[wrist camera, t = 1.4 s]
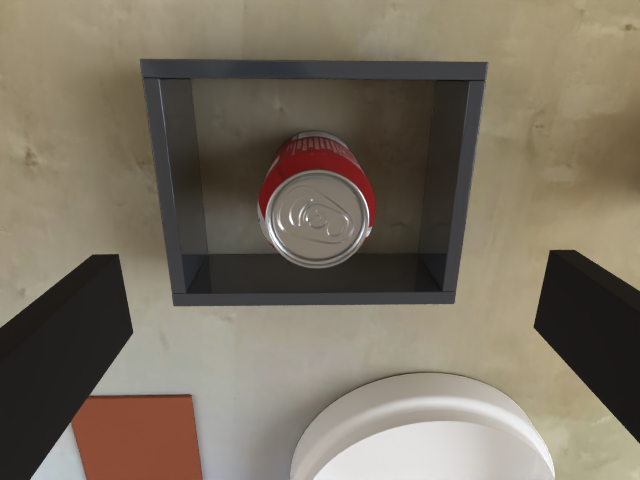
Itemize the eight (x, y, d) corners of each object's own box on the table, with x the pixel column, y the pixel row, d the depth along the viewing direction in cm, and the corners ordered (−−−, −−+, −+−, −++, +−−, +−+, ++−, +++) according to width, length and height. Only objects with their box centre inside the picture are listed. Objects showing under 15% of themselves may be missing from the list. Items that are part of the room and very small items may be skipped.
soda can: (293, 114, 31) (285, 134, 20) (371, 152, 33) (404, 192, 21) (258, 192, 33) (233, 249, 22) (332, 226, 35) (345, 296, 24)
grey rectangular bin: (175, 63, 30) (138, 58, 23) (450, 65, 30) (489, 61, 24) (197, 264, 36) (173, 306, 29) (428, 263, 36) (454, 304, 30)
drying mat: (67, 396, 40) (65, 399, 40) (191, 394, 41) (190, 397, 40) (101, 522, 47) (99, 526, 46) (208, 520, 47) (207, 523, 47)
